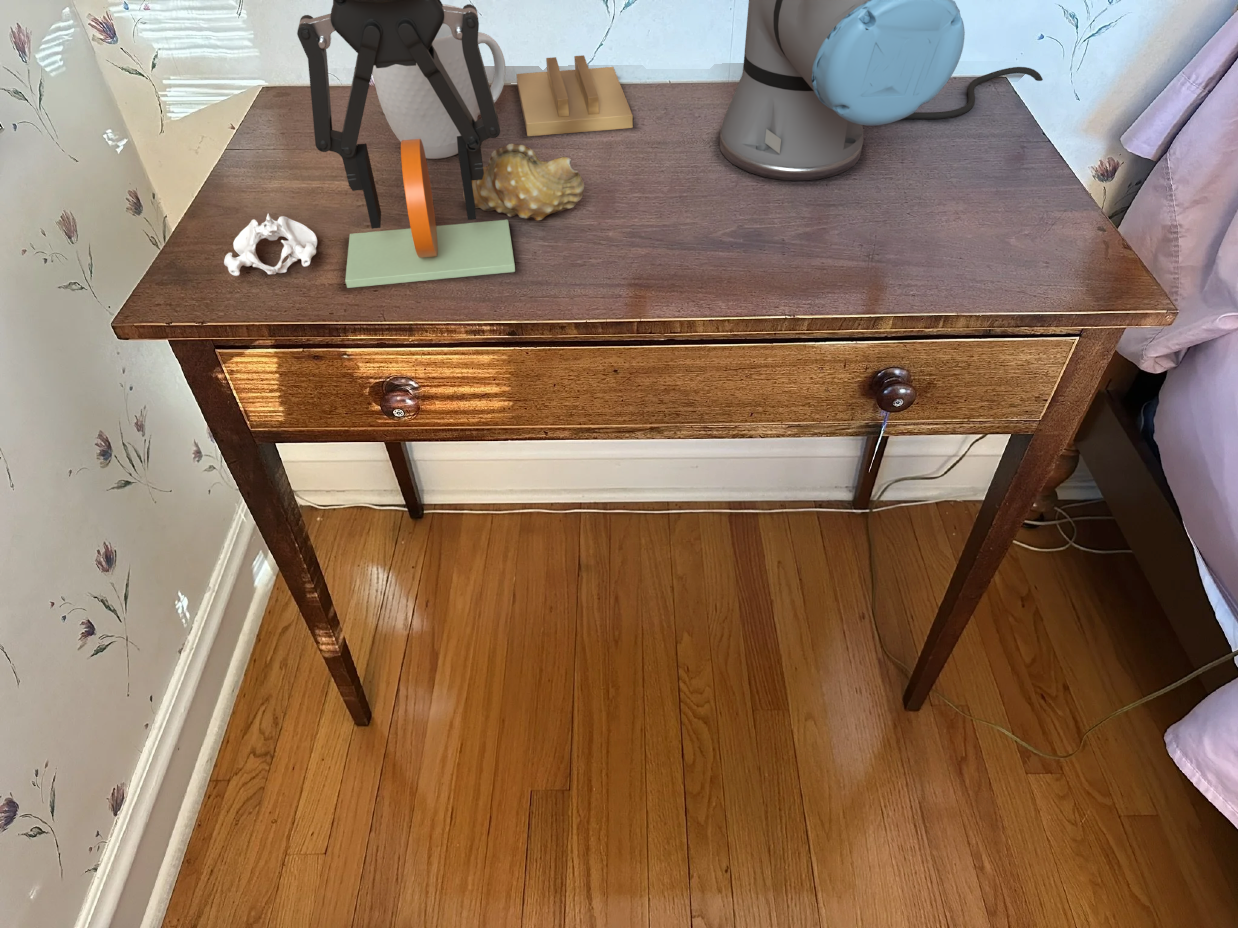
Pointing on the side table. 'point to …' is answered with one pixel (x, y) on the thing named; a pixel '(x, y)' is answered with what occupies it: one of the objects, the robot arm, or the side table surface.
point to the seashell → (526, 184)
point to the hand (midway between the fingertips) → (424, 216)
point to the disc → (419, 198)
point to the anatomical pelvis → (296, 247)
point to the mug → (433, 95)
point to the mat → (458, 256)
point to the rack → (572, 99)
